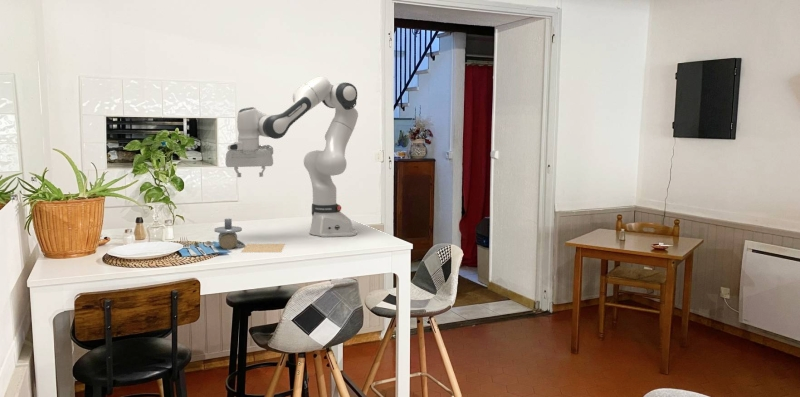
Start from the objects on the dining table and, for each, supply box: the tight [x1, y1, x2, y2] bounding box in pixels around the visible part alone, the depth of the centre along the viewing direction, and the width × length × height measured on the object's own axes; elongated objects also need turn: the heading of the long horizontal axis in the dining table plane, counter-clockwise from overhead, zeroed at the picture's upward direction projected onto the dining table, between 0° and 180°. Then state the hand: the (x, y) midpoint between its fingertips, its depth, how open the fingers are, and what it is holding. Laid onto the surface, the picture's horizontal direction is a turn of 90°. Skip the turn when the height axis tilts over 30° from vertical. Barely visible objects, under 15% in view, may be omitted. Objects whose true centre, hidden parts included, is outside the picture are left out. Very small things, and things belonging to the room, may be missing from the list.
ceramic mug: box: [218, 232, 246, 250], centre depth 255 cm, size 11×8×8 cm
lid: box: [213, 218, 243, 234], centre depth 254 cm, size 11×11×5 cm
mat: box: [240, 243, 286, 253], centre depth 255 cm, size 16×16×1 cm
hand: (250, 176), depth 269 cm, fingers open, 8 cm apart
